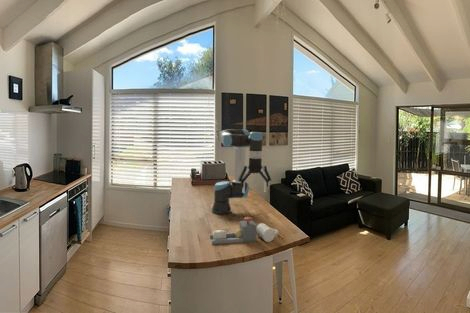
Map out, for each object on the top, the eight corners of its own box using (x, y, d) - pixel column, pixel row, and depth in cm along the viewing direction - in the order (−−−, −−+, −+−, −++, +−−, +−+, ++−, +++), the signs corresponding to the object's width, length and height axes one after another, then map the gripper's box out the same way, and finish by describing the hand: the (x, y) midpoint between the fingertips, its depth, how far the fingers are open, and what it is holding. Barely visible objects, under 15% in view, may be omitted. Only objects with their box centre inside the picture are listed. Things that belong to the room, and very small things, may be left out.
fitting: (212, 238, 160) (212, 229, 159) (224, 237, 161) (224, 228, 160) (214, 242, 154) (214, 233, 154) (226, 241, 156) (226, 232, 155)
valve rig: (209, 238, 162) (210, 217, 160) (251, 236, 167) (252, 215, 165) (211, 246, 152) (212, 223, 150) (256, 243, 157) (257, 220, 156)
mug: (263, 243, 158) (263, 229, 157) (255, 236, 167) (255, 224, 166) (280, 239, 163) (281, 227, 162) (272, 233, 172) (272, 221, 171)
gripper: (236, 158, 156) (235, 194, 158) (277, 158, 161) (275, 193, 164) (233, 157, 163) (233, 191, 165) (272, 156, 168) (271, 190, 171)
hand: (254, 192), depth 164 cm, fingers open, 13 cm apart
